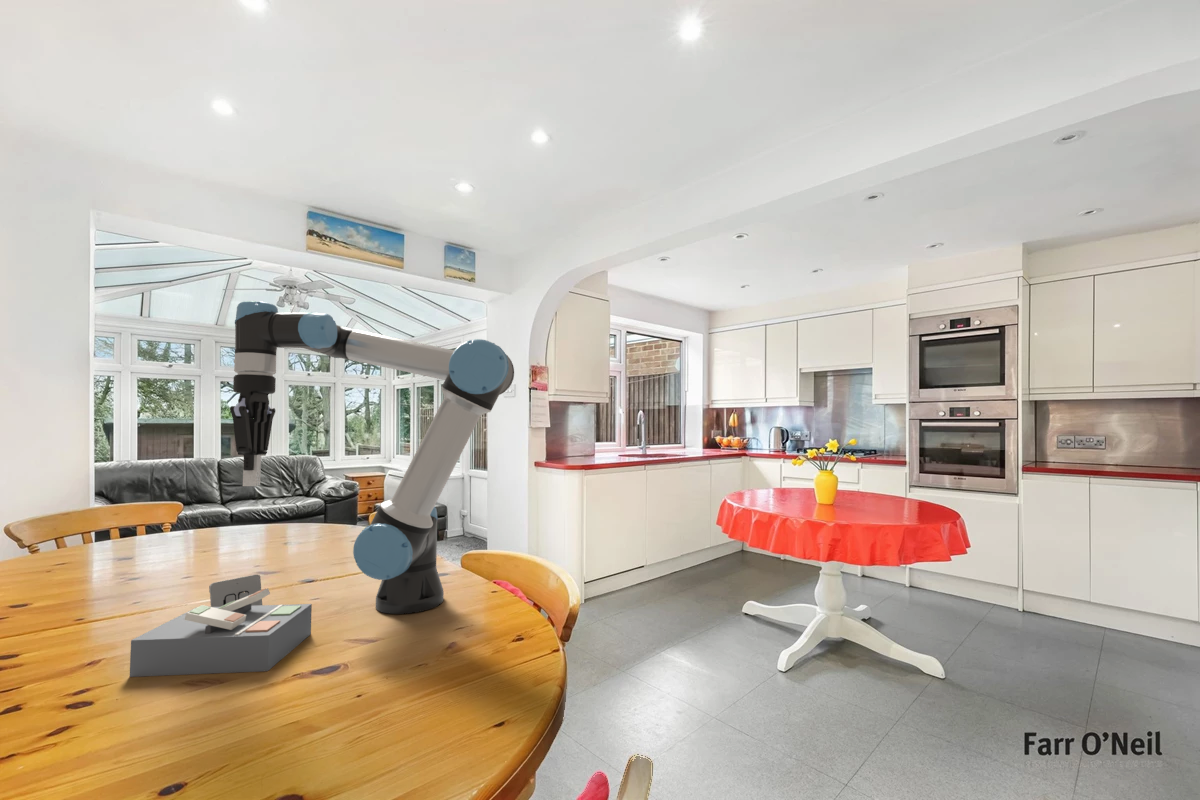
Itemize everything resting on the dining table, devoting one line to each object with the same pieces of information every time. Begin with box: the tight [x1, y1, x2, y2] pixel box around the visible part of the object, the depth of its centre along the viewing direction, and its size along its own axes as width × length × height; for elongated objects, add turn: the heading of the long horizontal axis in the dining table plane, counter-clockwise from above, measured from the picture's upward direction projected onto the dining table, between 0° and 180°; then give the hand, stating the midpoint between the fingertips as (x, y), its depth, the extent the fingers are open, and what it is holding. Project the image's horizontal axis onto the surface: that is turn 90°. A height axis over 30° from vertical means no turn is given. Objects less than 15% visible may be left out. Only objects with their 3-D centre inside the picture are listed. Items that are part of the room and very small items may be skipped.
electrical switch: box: [208, 573, 263, 607], centre depth 113 cm, size 9×5×9 cm, turn 141°
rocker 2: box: [218, 587, 271, 611], centre depth 101 cm, size 8×4×1 cm, turn 96°
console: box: [129, 603, 313, 678], centre depth 96 cm, size 22×16×7 cm
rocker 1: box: [184, 604, 246, 630], centre depth 93 cm, size 8×4×1 cm, turn 94°
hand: (251, 485), depth 110 cm, fingers closed
